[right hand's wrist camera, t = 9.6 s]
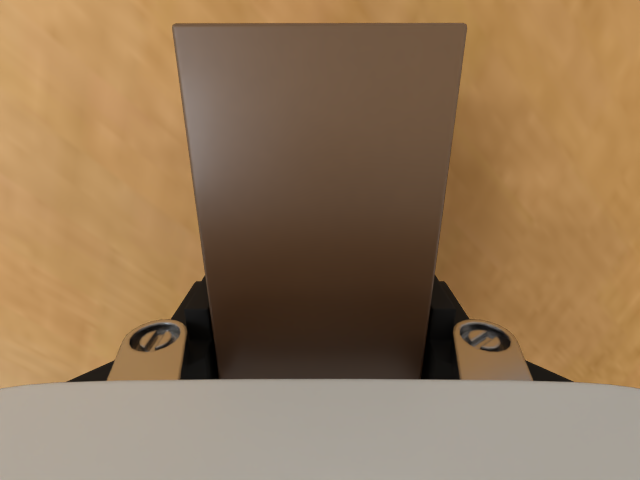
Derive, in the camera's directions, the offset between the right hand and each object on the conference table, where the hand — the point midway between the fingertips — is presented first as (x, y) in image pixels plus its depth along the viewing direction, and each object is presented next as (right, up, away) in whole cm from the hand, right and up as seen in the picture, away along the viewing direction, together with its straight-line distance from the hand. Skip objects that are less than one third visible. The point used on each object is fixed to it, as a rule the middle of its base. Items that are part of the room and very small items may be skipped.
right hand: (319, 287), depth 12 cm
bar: (0, -31, +15) cm, 34 cm away
